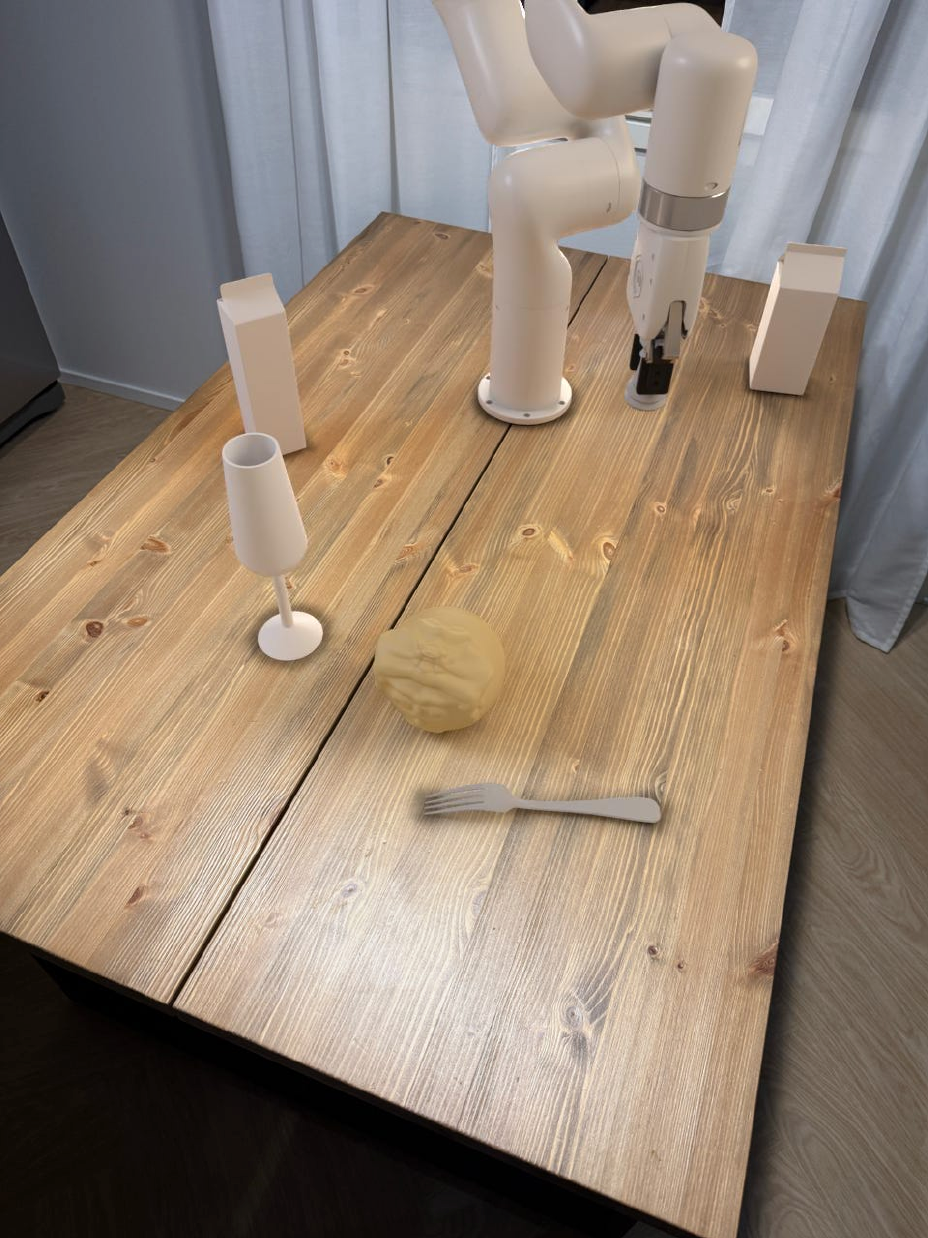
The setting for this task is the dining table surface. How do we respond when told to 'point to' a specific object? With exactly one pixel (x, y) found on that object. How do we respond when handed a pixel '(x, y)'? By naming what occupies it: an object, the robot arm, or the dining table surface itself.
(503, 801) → the fork
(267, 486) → the champagne flute
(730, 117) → the robot arm
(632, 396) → the rook chess piece
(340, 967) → the dining table surface
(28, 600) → the dining table surface
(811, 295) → the milk carton
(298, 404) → the milk
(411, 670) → the yellow dough ball
